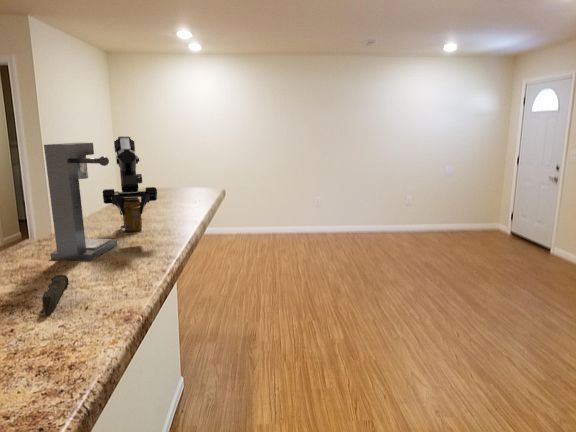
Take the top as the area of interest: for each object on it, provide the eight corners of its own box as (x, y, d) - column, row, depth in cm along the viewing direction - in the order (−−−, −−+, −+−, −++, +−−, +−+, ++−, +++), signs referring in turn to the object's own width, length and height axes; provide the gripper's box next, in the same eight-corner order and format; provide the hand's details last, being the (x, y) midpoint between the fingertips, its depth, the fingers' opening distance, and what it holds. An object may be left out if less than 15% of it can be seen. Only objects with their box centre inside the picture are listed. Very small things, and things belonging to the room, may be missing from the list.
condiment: (142, 227, 154) (140, 196, 151) (145, 232, 147) (142, 200, 144) (122, 229, 151) (119, 197, 148) (123, 235, 144) (120, 202, 141)
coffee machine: (81, 243, 152) (70, 142, 144) (139, 245, 151) (131, 142, 142) (48, 260, 133) (33, 144, 125) (113, 262, 132) (102, 145, 123)
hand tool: (53, 288, 112) (51, 272, 111) (69, 286, 113) (67, 271, 112) (33, 319, 94) (30, 300, 93) (52, 317, 95) (50, 298, 94)
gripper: (100, 167, 143) (102, 203, 136) (155, 165, 150) (160, 200, 143) (102, 185, 152) (105, 220, 145) (154, 183, 159) (158, 216, 152)
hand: (132, 214), depth 146 cm, fingers closed on condiment, 6 cm apart
